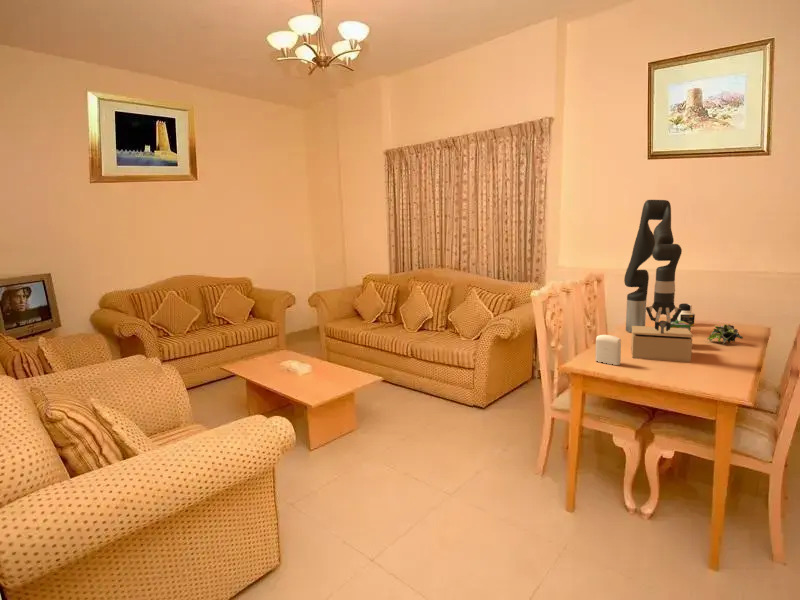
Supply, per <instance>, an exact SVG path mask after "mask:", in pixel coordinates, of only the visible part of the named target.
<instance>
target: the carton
mask: <svg viewBox="0 0 800 600" xmlns="http://www.w3.org/2000/svg"><path fill="white" fill-rule="evenodd" d="M630 349H631V356H632V358H633V359H639V358H642V359H641V360H655V361H667V362H678V363H679V362H680V363H691V362H692V352H693V351H692V349H693V338H692V337H674V336H657V335H639V334H633V331H632V332H631V347H630Z"/></svg>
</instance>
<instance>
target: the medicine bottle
mask: <svg viewBox="0 0 800 600" xmlns="http://www.w3.org/2000/svg"><path fill="white" fill-rule="evenodd" d="M678 308H681V310H682V311H681V313H680V314H679V316H678V318H677V319H678V321H684V322H687V323H689V324H691V327H693V328H694V327H695V319H696V317H695V316H696V314H695V313H694V312H692V311H693V310H692V309H693V305H692V304H690V303H679V304H678ZM675 313H676V312H675V311H674V314H675Z"/></svg>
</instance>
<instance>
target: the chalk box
mask: <svg viewBox="0 0 800 600" xmlns="http://www.w3.org/2000/svg"><path fill="white" fill-rule="evenodd" d="M673 316H674V314H672V317H673ZM664 321H665V322H667V320H664ZM670 328H687V329H688V330H689V331H690V332H691V324H689V323H687V322H684V321H678V319H676V321H675V322H671V324H670Z"/></svg>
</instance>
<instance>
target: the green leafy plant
mask: <svg viewBox="0 0 800 600" xmlns="http://www.w3.org/2000/svg"><path fill="white" fill-rule="evenodd" d="M714 327H715V328H713V331H712V332H711V334H710V335H709V336H708V337H707V338H706V339H707V341H709V342H711V341H712V340H714V339H717V340H718V342H719V343H721V341H722V344H721V346H723V345H724V344H725V343H726V342H727V343H731V342H733V343H735V342H736V338H739V339H744V337H743V336H742V335H740V332H738V331H739V330H738V329H737V328H735V326H734V325H731V324H726V323H724V325H720V326H718V325H714Z"/></svg>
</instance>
